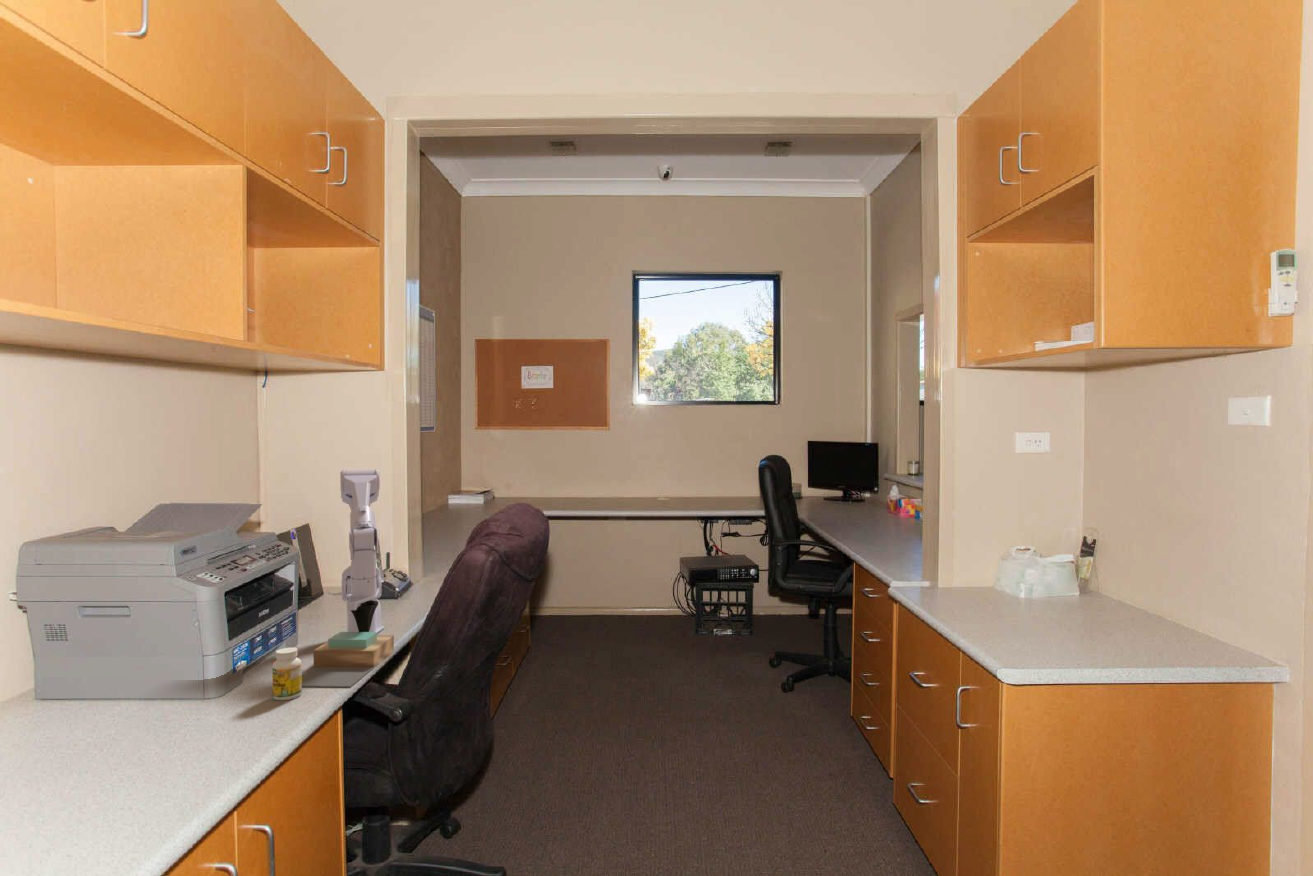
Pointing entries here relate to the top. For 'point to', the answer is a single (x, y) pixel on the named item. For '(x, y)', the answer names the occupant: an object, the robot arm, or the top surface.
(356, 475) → the robot arm
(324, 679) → the mat
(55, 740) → the top surface
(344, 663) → the wooden block
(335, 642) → the mint green block
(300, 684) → the supplement bottle
